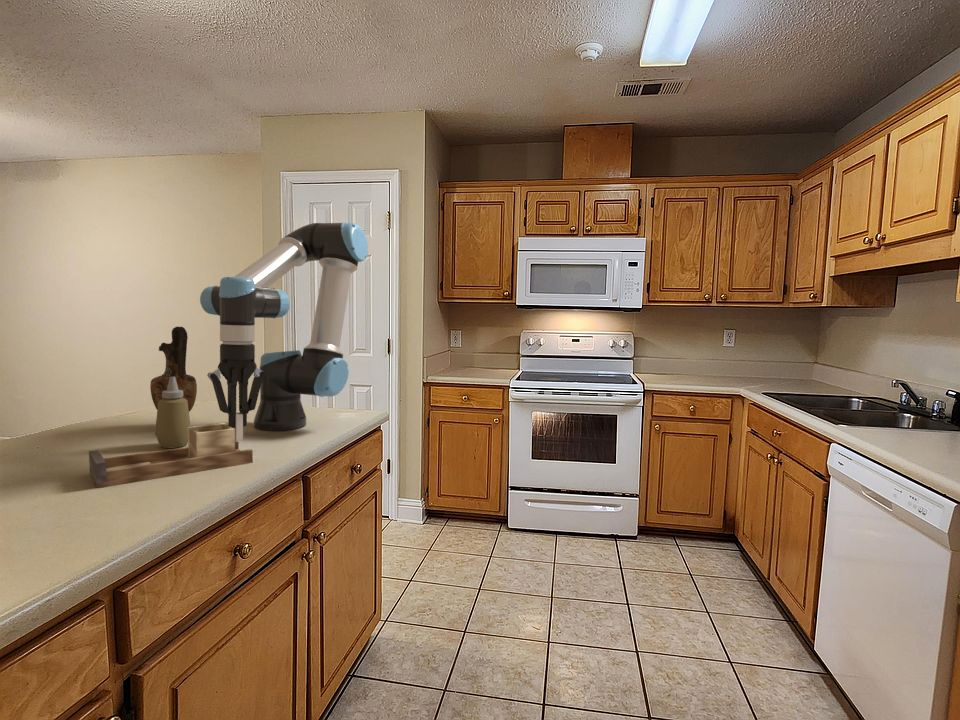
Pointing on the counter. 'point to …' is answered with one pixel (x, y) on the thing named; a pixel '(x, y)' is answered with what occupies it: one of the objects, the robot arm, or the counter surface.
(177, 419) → the squeeze bottle
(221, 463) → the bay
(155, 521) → the counter surface
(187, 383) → the vase
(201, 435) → the crate
